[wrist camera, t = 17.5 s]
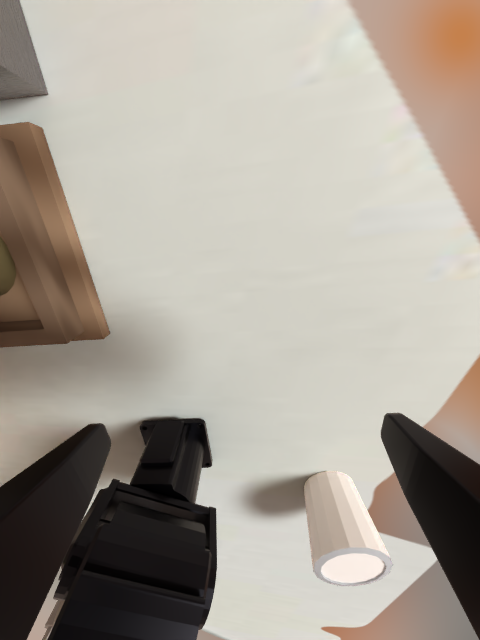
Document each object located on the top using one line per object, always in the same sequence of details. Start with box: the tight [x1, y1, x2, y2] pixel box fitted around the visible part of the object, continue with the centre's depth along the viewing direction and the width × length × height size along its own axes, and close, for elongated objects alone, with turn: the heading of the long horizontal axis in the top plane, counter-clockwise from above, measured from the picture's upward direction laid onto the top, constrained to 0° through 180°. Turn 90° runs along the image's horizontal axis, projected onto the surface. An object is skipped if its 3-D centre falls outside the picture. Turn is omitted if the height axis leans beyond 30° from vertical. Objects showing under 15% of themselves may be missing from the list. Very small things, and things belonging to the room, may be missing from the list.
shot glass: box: [304, 471, 393, 586], centre depth 24 cm, size 7×7×7 cm
